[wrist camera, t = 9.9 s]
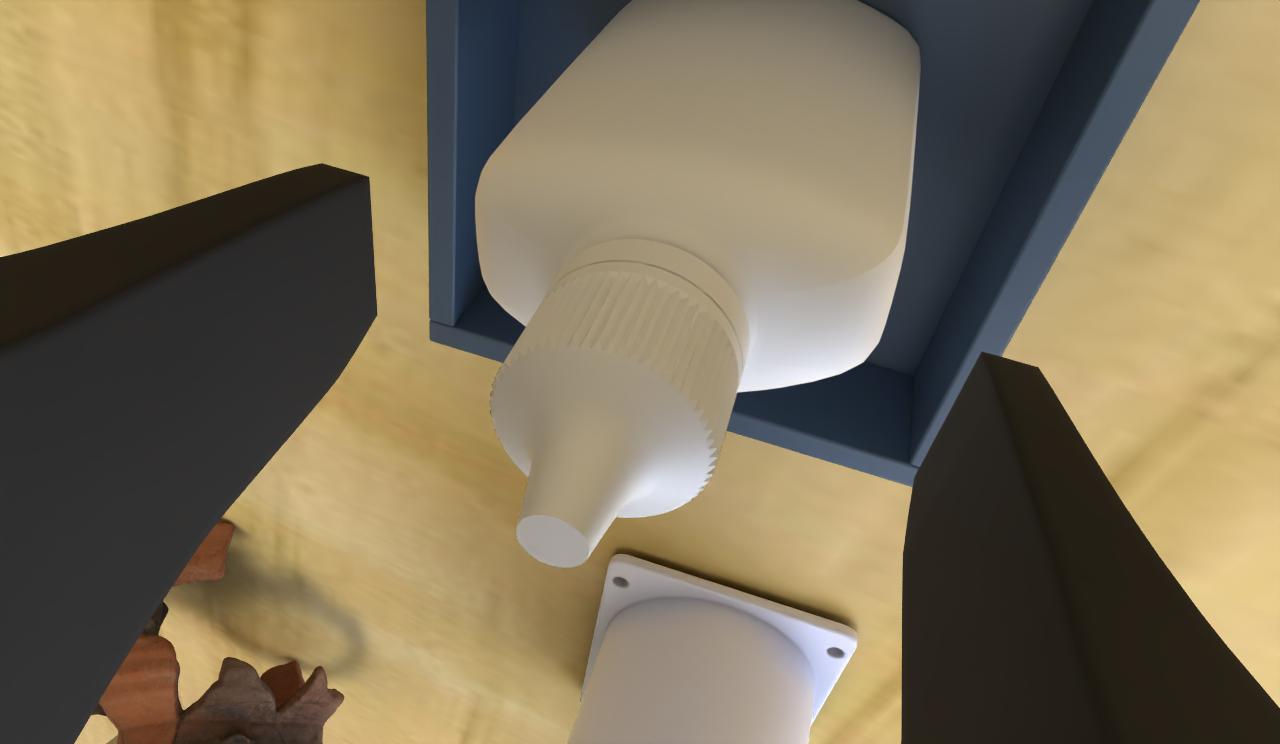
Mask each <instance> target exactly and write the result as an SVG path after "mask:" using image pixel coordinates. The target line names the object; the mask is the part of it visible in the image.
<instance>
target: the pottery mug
mask: <svg viewBox="0 0 1280 744" xmlns="http://www.w3.org/2000/svg"><path fill="white" fill-rule="evenodd" d="M234 530H235V528H234V526H233V525H232V524H229V523H217V524H216V525H215V526H214V528H213V529H212V530H211V532H210V533H209V534H208V535H207V537H206V538H205V539H204V541H203V542H202V543H201V545H200V546H199V548H198V549H197V551H196V552H195V554H194V555H193V557H192V558H191V559H190V561H189V562H188V564H187V565H186V567H185V568H184V570H183V571H182V573H181V574H180V576H179V577H178V579H177V580H176V582H175V583H174V585H173V586H177V585H180V584H183V583H191V582H199V581H207V580H214V581H216V580H219V579H221V578H222V577H223V575H224V571H225V565H226V550H227V548H228V546H229V544H230V541H231V538H232V535H233V532H234ZM163 600H164V599H163ZM167 613H168V607H167V605H166V604H165V603H164V602H163V601H162V602H161V604H160V605H159V607H158V608H157V610H156V611H155V613H154V614H153V616H152V617H151V619H150V621H149V622H148V624H147V625H146V627H145V629H144V630H143V632H142V633H141V635H140V636H139V638H138V640H137V641H136V643H135V644H134V646H133V647H132V649H131V651H130V652H129V654H128V655H127V657H126V658H125V660H124V662H123V663H122V665H121V666H120V668H119V669H118V671H117V673H116V674H115V676H114V677H113V679H112V680H111V682H110V684H109V685H108V687H107V689H106V690H105V692H104V694H103V695H102V697H101V699H100V701H99V702H98V704H97V706H96V707H95V709H94V711H93V712H92V714H91V715H95V714H100V715H104V716H107V717H108V718H109V720H110V721H111V722H112V723H113V724H114V725H115V727H116V728H117V729H118V731H119V733H118V739H117V744H323V743H322V736H323V726H324V724H325V722H326V721H327V720H328V718H329V717H330V716H331V715H332V714H333V713H334V712H335V711H336V709H337V708H338V707H339V706H340V704H341V703H342V702H343V700H344V695H343V694H342V693H340V692H339V691H337V690H336V689H328V688H327V678H326V674H325V671H324V669H323V667H321V666H318V667H316V668H315V670H314V672H313V673H312V675H311V676H310V677H309V678H308V680H307V681H306V683H305V681H304V679H303V677H302V672H301V668H300V666H299V664H298V662H296V661H292V662H289V663H287V664H285V665H278V666H276V667H273V668H271V669H269V670H267V671H266V672H264V673H263V674H262V676H261V678H259V676H258V673H257V671H256V670H255V669H254V668H253V667H252V666H251V665H250V664H248V663H246V662H244V661H241V660H239V659H236V658H231V657H227V658H225V659H224V660H223V663H222V667H221V671H220V673H219V680H218V681H216V682H215V683H213V684H212V685H211V687H210V688H209V689H208V690H207V691H206V692H205V693H204V695H203V696H202V697H201V698H200V699H199V700H198V701H196V702H195V703H193V704H192V705H191V706H190V707H188V708H187V709H186V710H182V707H181V703H180V701H179V697H178V679H179V674H180V666H179V663H178V661H177V659H176V653H175V650H174V647H173V645H172V643H171V642H170V641H168V640H167V639H165V638H164V637H161V636H159V635H158V633H159V630H160V626H161V625H162V623H163V620H164V619H165V617H166V615H167Z"/></svg>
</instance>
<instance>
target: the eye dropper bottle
mask: <svg viewBox="0 0 1280 744" xmlns="http://www.w3.org/2000/svg"><path fill="white" fill-rule="evenodd" d="M920 71H921V64H920V50H919V46H918V44H917V43H916V41H915V40H914V38H913V37H912V36H911V34H910V33H909V31H908V30H907V29H905V28H904V27H902V26H901V25H900V24H898V23H897V22H896V21H894V20H893V19H891V18H889V17H888V16H886V15H884V14H883V13H881V12H879V11H877V10H876V9H874V8H872V7H870V6H868V5H866V4H864V3H862V2H860V1H858V0H632V1H631V2H630V3H628V4H627V5H626V6H625V7H624V8H623V9H622V10H621V11H619V13H618V14H617V15H616V16H615V17H614V18H613V19H612V20H611V21H610V22H609V23H608V24H607V26H606V27H605V28H604V29H603V30H602V31H601V32H600V33H599V34H598V35H597V36H596V38H595V39H594V40H593V41H592V42H591V43H590V44H589V45H588V46H587V47H586V48H585V50H584V51H583V52H582V53H581V54H580V55H579V56H578V57H577V58H576V59H575V61H574V62H573V63H572V64H571V65H570V66H569V67H568V68H567V69H566V70H565V71H564V73H563V74H562V75H561V76H560V77H559V78H558V79H557V80H556V81H555V83H554V84H553V85H552V86H551V87H550V88H549V89H548V90H547V92H546V93H545V94H544V95H543V96H542V97H541V98H540V99H539V100H538V102H537V103H536V104H535V105H534V106H533V107H532V108H531V109H530V110H529V112H528V113H527V114H526V115H525V116H524V117H523V118H522V119H521V120H520V122H519V123H518V124H517V125H516V126H515V127H514V129H513V130H512V131H511V132H510V133H509V135H508V136H507V137H506V138H505V139H504V141H503V142H502V143H501V144H500V146H499V147H498V148H497V149H496V150H495V152H494V153H493V154H492V155H491V156H490V158H489V159H488V161H487V163H486V165H485V166H484V168H483V170H482V172H481V175H480V179H479V182H478V186H477V190H476V195H475V221H476V235H477V246H478V255H479V262H480V267H481V273H482V277H483V280H484V282H485V284H486V286H487V288H488V290H489V293H490V294H491V296H492V297H493V298H494V299H495V300H496V301H497V302H498V303H499V304H500V306H501V307H502V308H503V309H504V310H505V311H506V312H508V313H509V314H510V315H511V316H513V317H514V318H515V319H517V320H518V321H519V322H520V323H522V324H523V325H524V326H525V327H526V328H525V329H524V331H523V332H522V334H521V336H520V337H519V339H518V340H517V342H516V344H515V345H514V347H513V348H512V350H511V352H510V353H509V355H508V356H507V358H506V360H505V361H504V363H503V364H502V366H501V367H500V369H499V371H498V373H497V375H496V376H495V381H494V382H493V384H492V389H493V390H492V391H491V393H490V396H491V400H490V402H489V403H490V406H491V410H490V413H491V416H492V423H493V425H494V427H495V429H494V430H495V432H496V434H497V436H498V439H499V441H500V443H501V444H502V446H503V448H504V449H505V451H506V453H507V454H508V456H509V457H510V458H511V460H512V461H513V463H514V464H515V465H516V466H517V467H518V468H519V469H520V471H522V472H523V473H524V474H525V475H526V476H527V477H528V481H527V485H526V489H525V493H524V498H523V502H522V506H521V510H520V514H519V518H518V523H517V527H516V537H517V539H518V542H519V543H520V545H521V546H522V548H523V549H524V550H525V551H526V552H527V553H528V554H529V555H531V556H532V557H534V558H535V559H537V560H539V561H540V562H543V563H545V564H547V565H550V566H554V567H560V568H572V567H576V566H579V565H581V564H583V563H584V562H585V561H586V560H587V558H588V557H589V555H590V554H591V553H592V551H593V550H594V548H595V547H596V545H597V544H598V542H599V541H600V540H601V538H602V537H603V535H604V534H605V532H606V531H607V529H608V528H609V527H610V525H611V524H612V522H613V521H614V519H615V518H616V517H622V518H638V517H648V516H654V515H658V514H663V513H665V512H669V511H672V510H675V508H678V507H681V506H683V505H684V504H685V503H688V502H690V501H691V500H692V498H694V497H696V496H698V494H699V492H700V491H702V490H704V488H705V485H706V484H707V483H709V481H710V478H711V476H712V475H713V473H714V470H715V467H716V464H717V461H718V457H719V454H720V450H721V447H722V444H723V440H724V437H725V433H726V430H727V426H728V423H729V419H730V416H731V412H732V409H733V405H734V402H735V398H736V395H737V392H747V391H758V390H767V389H775V388H782V387H787V386H792V385H797V384H803V383H808V382H813V381H817V380H821V379H824V378H828V377H832V376H835V375H839V374H841V373H843V372H845V371H847V370H849V369H851V368H853V367H855V366H857V365H859V364H861V363H863V362H864V361H865V360H866V359H867V357H868V356H869V355H870V353H871V352H872V351H873V350H874V348H875V347H876V346H877V344H878V343H879V341H880V338H881V336H882V333H883V330H884V327H885V325H886V321H887V318H888V314H889V311H890V307H891V304H892V300H893V296H894V292H895V289H896V285H897V281H898V277H899V273H900V270H901V265H902V260H903V255H904V251H905V245H906V236H907V228H908V219H909V211H910V201H911V188H912V176H913V164H914V152H915V140H916V127H917V113H918V100H919V86H920Z"/></svg>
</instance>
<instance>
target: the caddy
mask: <svg viewBox="0 0 1280 744" xmlns="http://www.w3.org/2000/svg"><path fill="white" fill-rule="evenodd" d="M631 1H632V0H426V33H427V129H428V226H429V318H430V319H431V320H430V340H431V341H433V342H436V343H440V344H443V345H446V346H450V347H453V348H456V349H459V350H463V351H466V352H469V353H473V354H476V355H479V356H482V357H486V358H489V359H492V360H496V361H499V362H502V363H504V361H505V360H506V358H507V356H508V355H509V353H510V352H511V350H512V348H513V347H514V345H515V344H516V342H517V340H518V339H519V337H520V336H521V334H522V332H523V331H524V329H525V328H526V327H525V326H524V325H523V324H522V323H520V322H519V321H518V320H517V319H515V318H514V317H513V316H511V315H510V314H509V313H508V312H506V311H505V310H504V309H503V308H502V307H501V306H500V304H499V303H498V302H497V301H496V300H495V299H494V298H493V297H492V296H491V294H490V293H489V290H488V288H487V286H486V284H485V282H484V280H483V277H482V273H481V267H480V262H479V255H478V246H477V235H476V221H475V195H476V190H477V186H478V182H479V179H480V175H481V172H482V170H483V168H484V166H485V165H486V163H487V161H488V159H489V158H490V156H491V155H492V154H493V153H494V152H495V150H496V149H497V148H498V147H499V146H500V144H501V143H502V142H503V141H504V139H505V138H506V137H507V136H508V135H509V133H510V132H511V131H512V130H513V129H514V127H515V126H516V125H517V124H518V123H519V122H520V120H521V119H522V118H523V117H524V116H525V115H526V114H527V113H528V112H529V110H530V109H531V108H532V107H533V106H534V105H535V104H536V103H537V102H538V100H539V99H540V98H541V97H542V96H543V95H544V94H545V93H546V92H547V90H548V89H549V88H550V87H551V86H552V85H553V84H554V83H555V81H556V80H557V79H558V78H559V77H560V76H561V75H562V74H563V73H564V71H565V70H566V69H567V68H568V67H569V66H570V65H571V64H572V63H573V62H574V61H575V59H576V58H577V57H578V56H579V55H580V54H581V53H582V52H583V51H584V50H585V48H586V47H587V46H588V45H589V44H590V43H591V42H592V41H593V40H594V39H595V38H596V36H597V35H598V34H599V33H600V32H601V31H602V30H603V29H604V28H605V27H606V26H607V24H608V23H609V22H610V21H611V20H612V19H613V18H614V17H615V16H616V15H617V14H618V13H619V11H621V10H622V9H623V8H624V7H625V6H626V5H627V4H628V3H630V2H631ZM858 1H860V2H862V3H864V4H866V5H868V6H870V7H872V8H874V9H876V10H877V11H879V12H881V13H883V14H884V15H886V16H888V17H889V18H891V19H893V20H894V21H896V22H897V23H898V24H900V25H901V26H902V27H904V28H905V29H907V30H908V31H909V33H910V34H911V36H912V37H913V38H914V40H915V41H916V43H917V44H918V46H919V50H920V64H921V71H920V86H919V100H918V113H917V127H916V140H915V152H914V164H913V176H912V188H911V201H910V211H909V219H908V228H907V236H906V245H905V251H904V255H903V260H902V265H901V270H900V273H899V277H898V281H897V285H896V289H895V292H894V296H893V300H892V304H891V307H890V311H889V314H888V318H887V321H886V325H885V327H884V330H883V333H882V336H881V338H880V341H879V343H878V344H877V346H876V347H875V348H874V350H873V351H872V352H871V353H870V355H869V356H868V357H867V359H866V360H865V361H864V362H863V363H861V364H859V365H857V366H855V367H853V368H851V369H849V370H847V371H845V372H843V373H841V374H839V375H835V376H832V377H828V378H824V379H821V380H817V381H813V382H808V383H803V384H797V385H792V386H787V387H782V388H775V389H767V390H758V391H747V392H737V395H736V398H735V402H734V405H733V409H732V412H731V416H730V419H729V423H728V426H727V430H726V431H730V432H733V433H736V434H739V435H743V436H746V437H749V438H753V439H756V440H759V441H763V442H766V443H769V444H772V445H776V446H779V447H782V448H786V449H789V450H792V451H795V452H799V453H802V454H805V455H809V456H812V457H815V458H819V459H822V460H825V461H828V462H832V463H835V464H838V465H842V466H845V467H848V468H851V469H855V470H858V471H861V472H865V473H868V474H871V475H875V476H878V477H881V478H884V479H888V480H891V481H894V482H898V483H901V484H904V485H907V486H911V487H913V483H914V477H915V475H916V473H917V471H918V469H919V467H920V466H921V464H922V462H923V460H924V458H925V456H926V454H927V453H928V451H929V449H930V447H931V445H932V443H933V441H934V439H935V438H936V436H937V434H938V432H939V430H940V428H941V426H942V424H943V423H944V421H945V419H946V417H947V415H948V413H949V411H950V410H951V408H952V406H953V404H954V402H955V400H956V398H957V396H958V395H959V393H960V391H961V389H962V387H963V385H964V383H965V381H966V380H967V378H968V376H969V374H970V372H971V370H972V368H973V367H974V365H975V363H976V361H977V359H978V357H979V355H980V353H981V352H986V353H989V354H993V355H996V356H1000V357H1001V356H1002V354H1003V352H1004V351H1005V349H1006V347H1007V345H1008V343H1009V342H1010V340H1011V338H1012V336H1013V335H1014V333H1015V331H1016V329H1017V327H1018V326H1019V324H1020V322H1021V320H1022V318H1023V317H1024V315H1025V313H1026V311H1027V309H1028V308H1029V306H1030V304H1031V302H1032V300H1033V299H1034V297H1035V295H1036V293H1037V292H1038V290H1039V288H1040V286H1041V284H1042V283H1043V281H1044V279H1045V277H1046V275H1047V274H1048V272H1049V270H1050V268H1051V266H1052V265H1053V263H1054V261H1055V259H1056V257H1057V256H1058V254H1059V252H1060V250H1061V249H1062V247H1063V245H1064V243H1065V241H1066V240H1067V238H1068V236H1069V234H1070V232H1071V231H1072V229H1073V227H1074V225H1075V223H1076V222H1077V220H1078V218H1079V216H1080V214H1081V213H1082V211H1083V209H1084V207H1085V206H1086V204H1087V202H1088V200H1089V198H1090V197H1091V195H1092V193H1093V191H1094V189H1095V188H1096V186H1097V184H1098V182H1099V180H1100V179H1101V177H1102V175H1103V173H1104V171H1105V170H1106V168H1107V166H1108V164H1109V162H1110V161H1111V159H1112V157H1113V155H1114V154H1115V152H1116V150H1117V148H1118V146H1119V145H1120V143H1121V141H1122V139H1123V137H1124V136H1125V134H1126V132H1127V130H1128V128H1129V127H1130V125H1131V123H1132V121H1133V119H1134V118H1135V116H1136V114H1137V112H1138V111H1139V109H1140V107H1141V105H1142V103H1143V102H1144V100H1145V98H1146V96H1147V94H1148V93H1149V91H1150V89H1151V87H1152V85H1153V84H1154V82H1155V80H1156V78H1157V76H1158V75H1159V73H1160V71H1161V69H1162V68H1163V66H1164V64H1165V62H1166V60H1167V59H1168V57H1169V55H1170V53H1171V51H1172V50H1173V48H1174V46H1175V44H1176V42H1177V41H1178V39H1179V37H1180V35H1181V33H1182V32H1183V30H1184V28H1185V26H1186V25H1187V23H1188V21H1189V19H1190V17H1191V16H1192V14H1193V12H1194V10H1195V8H1196V7H1197V5H1198V3H1199V1H1200V0H858Z"/></svg>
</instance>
